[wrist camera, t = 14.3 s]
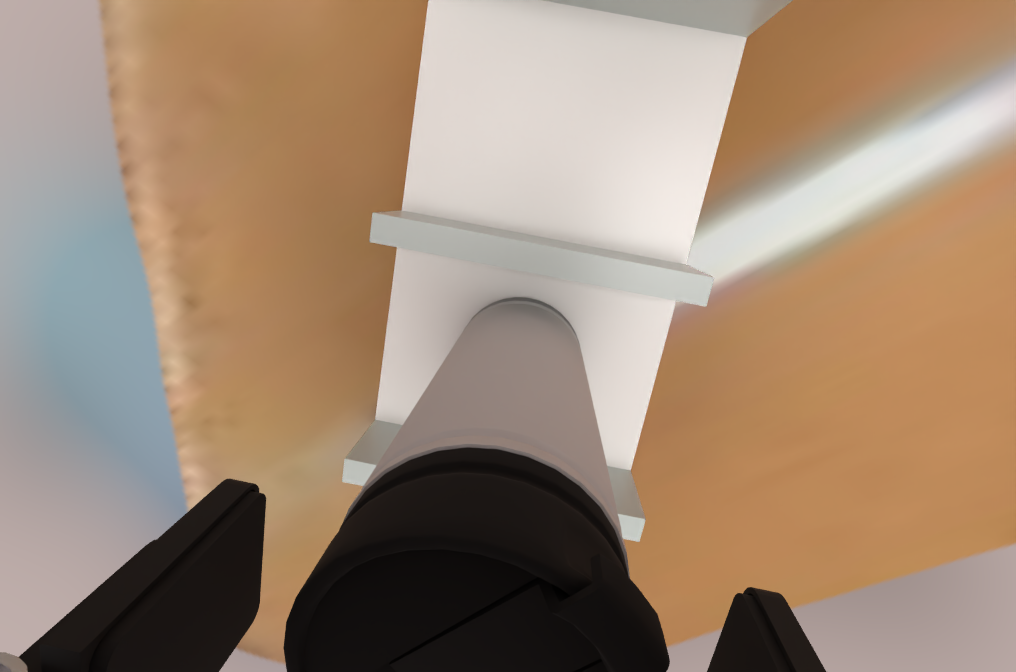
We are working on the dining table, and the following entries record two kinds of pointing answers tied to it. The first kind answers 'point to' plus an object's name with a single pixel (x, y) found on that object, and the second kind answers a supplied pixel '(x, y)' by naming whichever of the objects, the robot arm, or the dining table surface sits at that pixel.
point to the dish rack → (558, 192)
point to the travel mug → (485, 526)
